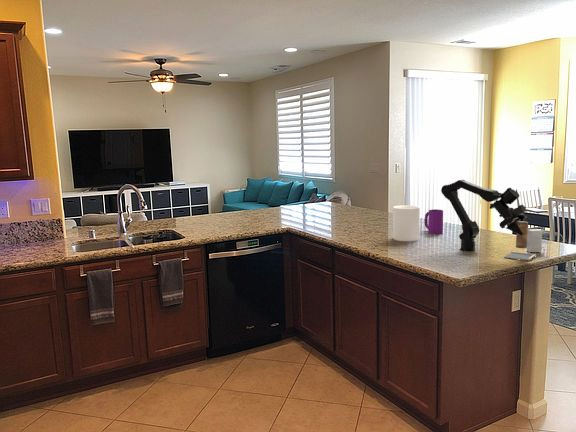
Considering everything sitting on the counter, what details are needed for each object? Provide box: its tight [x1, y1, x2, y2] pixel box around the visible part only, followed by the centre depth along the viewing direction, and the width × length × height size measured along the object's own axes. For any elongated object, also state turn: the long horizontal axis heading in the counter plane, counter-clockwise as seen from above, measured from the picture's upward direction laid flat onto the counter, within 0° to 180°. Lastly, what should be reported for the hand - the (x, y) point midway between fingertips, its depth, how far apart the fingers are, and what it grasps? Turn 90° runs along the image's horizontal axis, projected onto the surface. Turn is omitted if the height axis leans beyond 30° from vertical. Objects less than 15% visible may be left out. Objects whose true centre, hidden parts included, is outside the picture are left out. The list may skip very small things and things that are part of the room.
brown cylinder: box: [515, 220, 529, 249], centre depth 238 cm, size 5×5×13 cm
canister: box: [392, 204, 421, 242], centre depth 295 cm, size 16×16×20 cm
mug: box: [424, 208, 444, 235], centre depth 313 cm, size 9×16×15 cm, turn 22°
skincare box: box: [526, 228, 543, 253], centre depth 252 cm, size 6×4×12 cm
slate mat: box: [503, 250, 537, 262], centre depth 242 cm, size 12×12×1 cm
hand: (524, 233), depth 237 cm, fingers closed on brown cylinder, 5 cm apart
